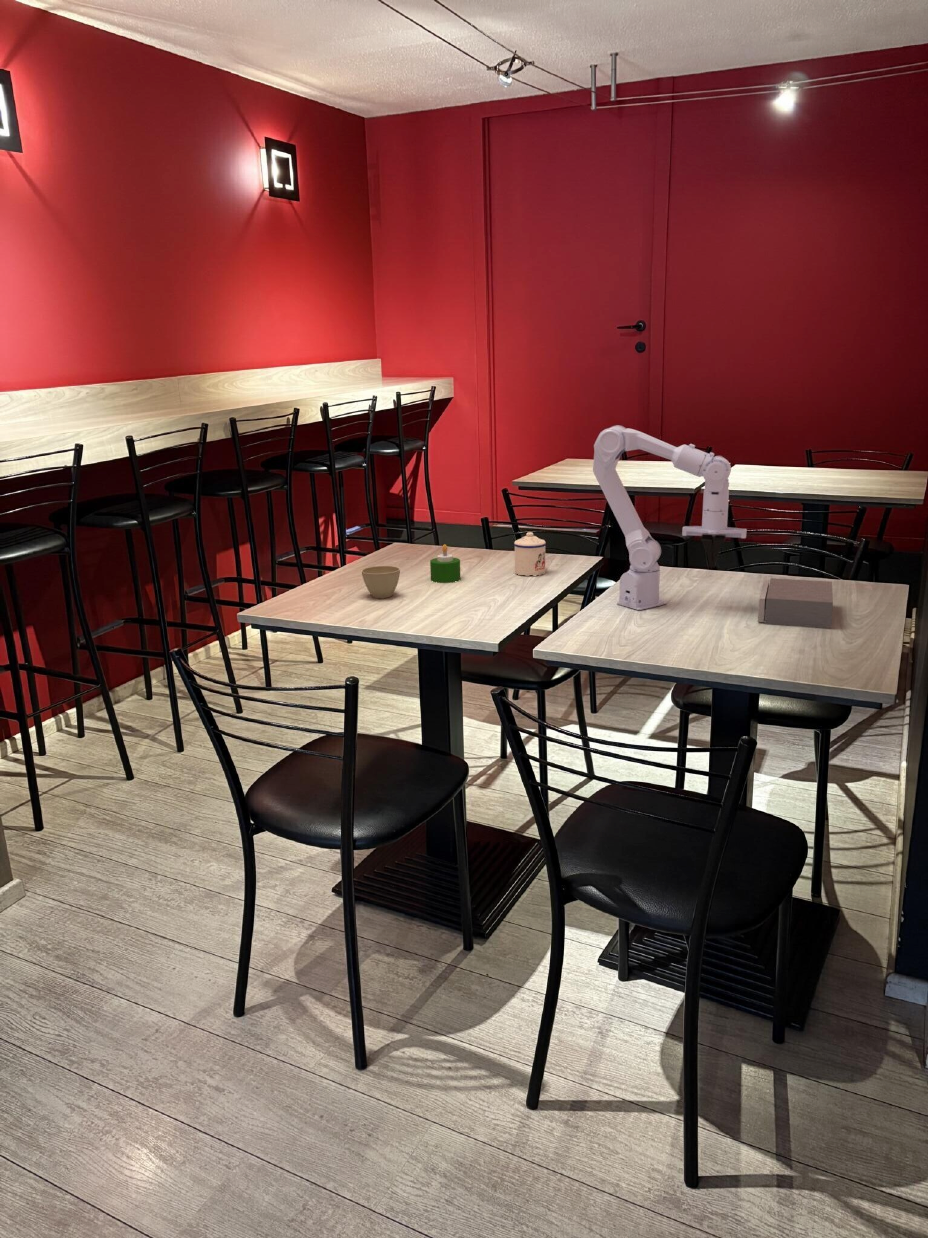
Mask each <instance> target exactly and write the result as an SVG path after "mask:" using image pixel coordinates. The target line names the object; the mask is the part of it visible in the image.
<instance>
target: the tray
mask: <svg viewBox="0 0 928 1238" xmlns="http://www.w3.org/2000/svg"><path fill="white" fill-rule="evenodd" d="M769 584H770V579H769V578H764V579H763V582H762V587H761V591H760V595H759V598H758V599H759V602H758V614H757V615H758V616H757V622H758V623H765V610H766V597H767V593H768V588H769Z"/></svg>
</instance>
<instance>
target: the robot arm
mask: <svg viewBox="0 0 928 1238" xmlns="http://www.w3.org/2000/svg"><path fill="white" fill-rule="evenodd" d="M695 447H696V445H695V444H692V443H690V444H688V445H687V444H682V445H680V446H674V445H672V444H670V443H668V442H665V441H663V440H660V439H658V438H656V437H653V436H651V435H649V434H647V433H644V432H642V431H639V430H637V429H633V428H626V427H624V426H623V425H619V424H618V425H613V426H610V427H608V428H605V429H604V430H602V431H600V433H599V434H598V436H597V438H596V440H595V442H594V444H593V449H594V453H593V463H592V465H593V466H592V471H593V472H592V473H593V475H594V476H595V478H596V481H597V483H598V484H599V485H598V486H599V487H600V489H601V490H602V493H603V494H604V497H605V499H606V500H607V503H608V505H609V507H610V509H611V511H612V512H613V515H614V517H615V519H616V521H617V523H618V525H619V527H620V529H621V531H622V533H623V535H624V537H625V545H626V548H627V550H628V554H629V555H628V557H629V558H628V560H629V564H630V565H629V569H628V570H627V571H626V572H624V573H623V574H622V575H621V576H620V578H619V595H618V597H619V598H618V599H619V600H618V601H617V602H616V604H617V605H619V606H623V607H627V608H630V609H632V610H633V609H634V610H637V611H641V610H646V609H651V608H654V607H658V606H659V607H660V606H663V605H667V602H666V601H663V600H660V577H661V576H660V575H661V572H660V571H661V566H660V565H659V564H658V560H659V558H660V557H661V554H662V548H661V544H660V543H659V542H658V541H657V540H655V539H654V538H653V537H652V536H651V534H650V532H649V530H648V529H647V528H645V527H644V524H643V522H642V520H641V518H640V517H639V514H638V512H637V511H636V510H637V509H636V508H635V506H634V505H633V503H632V500H631V498H630V496H629V494H628V492H627V489H626V488H625V486H624V484H623V482H622V480H621V477H620V476H619V474H618V472H617V469H616V468H617V465H618V462H619V461H620V458H621V456H622V454H623V453H625V452H629V451H635V450H641V451H644V452H647V453H649V454H653V455H655V456H658V457H661V458H665V459H667V460H670V461H671V463H672V464H673V467H674V469H675V468H676V469H678V470H680V471H683V472H685V473H688V474H690V475H693V476H696V477H699V478H702V477H703V479H704V489H703V499H702V517H701V518H702V519H701V525H700V526H699V525H693V526H692V525H691V526H686V525H685V526H683V527H682V532H681V536H683V537H687V536H699V537H701V539H700V540H701V543H702V546H703V547H704V550H705V552H706V555H707V560H708V561H707V562H708V567H709V568H716V566H717V561H718V558H719V557H718V556H719V554H720V551H721V549H722V547H723V544H724V543H725V541H726V539H727V538H739V539H746V538H747V531H748V529H747V528H740V527H739V528H738V527H729V526H728V517H729V496H730V490H729V487H730V482H729V477H730V475H731V472H732V467H731V463H730V462H729V460H728V459H726V458H725V457H723V455H716V456H715V453H714V452H712V451H710V452H709V453H708V452H705V451H703V450H700V449H698V448H695Z"/></svg>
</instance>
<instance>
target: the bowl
mask: <svg viewBox="0 0 928 1238" xmlns="http://www.w3.org/2000/svg"><path fill="white" fill-rule="evenodd" d="M400 573H401V568H400V567H399V566H395V565H374V566H368V567H367V566H366V567H365V568H362V569H361V577H362V579H363V582H364V584H365V587H366V588H367V591H368V592H369V594H370V596H372V598H375V599H388V598H390V597H391V598H392V596H393V595H394V593H395V592H396V591H395V590H396V589H397V586H398V583H399V580H400Z"/></svg>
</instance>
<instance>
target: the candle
mask: <svg viewBox="0 0 928 1238" xmlns="http://www.w3.org/2000/svg"><path fill="white" fill-rule="evenodd" d="M441 549H442V550H441V551H442V553H441V554H439V555H437V557H436V558H432V559H430V561H429V567H430V581H431V582H432V581H433V582H432V583H436V582H437V584H451V583H456V582H455V581H457V582H459V580H460V581H461V559H460V558H457V557H453V554H448V546H447V544H445V543H444V544H443V545H442V548H441Z"/></svg>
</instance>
